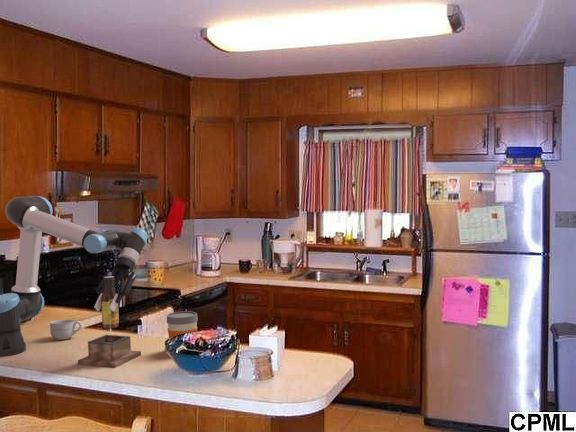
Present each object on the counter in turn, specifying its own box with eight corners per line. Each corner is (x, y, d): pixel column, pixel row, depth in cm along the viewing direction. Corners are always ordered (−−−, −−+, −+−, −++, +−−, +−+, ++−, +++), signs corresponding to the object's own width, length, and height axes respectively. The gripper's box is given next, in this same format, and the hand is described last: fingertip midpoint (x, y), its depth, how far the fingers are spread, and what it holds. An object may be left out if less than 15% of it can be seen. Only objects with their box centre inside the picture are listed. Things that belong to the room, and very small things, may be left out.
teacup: (45, 341, 275) (44, 323, 274) (60, 335, 285) (59, 317, 285) (73, 342, 271) (72, 324, 271) (87, 336, 282) (86, 318, 281)
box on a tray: (78, 364, 237) (77, 343, 237) (105, 352, 253) (104, 332, 253) (115, 367, 232) (114, 346, 231) (141, 355, 248) (140, 335, 247)
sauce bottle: (114, 329, 238) (111, 278, 237) (99, 329, 239) (96, 278, 238) (122, 325, 244) (119, 275, 243) (107, 325, 246) (105, 275, 244)
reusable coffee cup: (195, 345, 261) (193, 309, 260) (202, 352, 249) (200, 315, 248) (165, 348, 256) (163, 312, 255) (170, 356, 244) (169, 319, 244)
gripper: (151, 267, 252) (129, 315, 237) (111, 266, 258) (88, 313, 244) (143, 256, 246) (121, 304, 232) (102, 255, 253) (78, 303, 239)
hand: (104, 309), depth 238 cm, fingers closed on sauce bottle, 6 cm apart
